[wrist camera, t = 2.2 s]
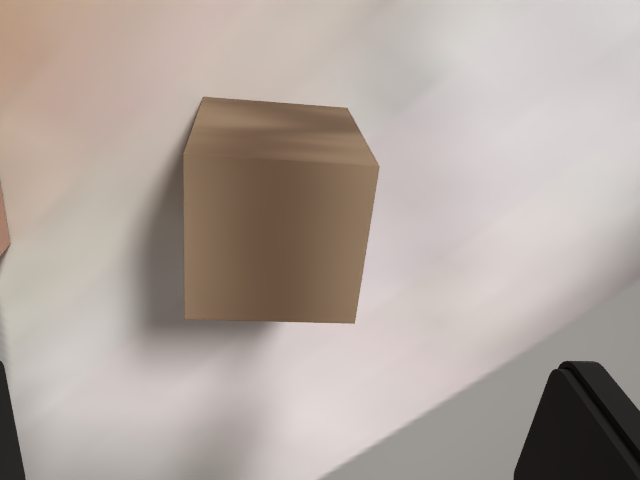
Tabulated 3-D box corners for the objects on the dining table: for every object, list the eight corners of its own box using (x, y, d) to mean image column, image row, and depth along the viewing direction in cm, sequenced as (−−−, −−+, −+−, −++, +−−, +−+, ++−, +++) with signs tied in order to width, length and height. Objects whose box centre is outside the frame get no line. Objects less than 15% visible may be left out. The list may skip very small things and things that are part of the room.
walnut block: (347, 107, 20) (379, 166, 15) (331, 233, 22) (354, 323, 17) (203, 96, 19) (183, 153, 14) (202, 227, 22) (184, 319, 16)
